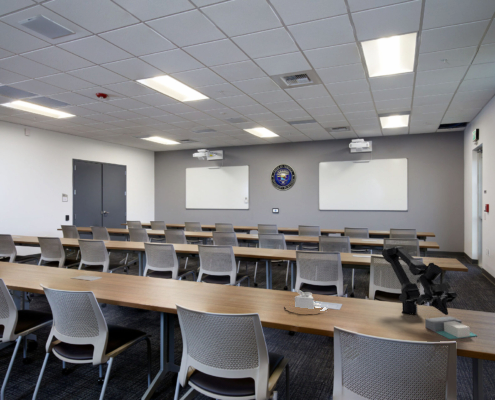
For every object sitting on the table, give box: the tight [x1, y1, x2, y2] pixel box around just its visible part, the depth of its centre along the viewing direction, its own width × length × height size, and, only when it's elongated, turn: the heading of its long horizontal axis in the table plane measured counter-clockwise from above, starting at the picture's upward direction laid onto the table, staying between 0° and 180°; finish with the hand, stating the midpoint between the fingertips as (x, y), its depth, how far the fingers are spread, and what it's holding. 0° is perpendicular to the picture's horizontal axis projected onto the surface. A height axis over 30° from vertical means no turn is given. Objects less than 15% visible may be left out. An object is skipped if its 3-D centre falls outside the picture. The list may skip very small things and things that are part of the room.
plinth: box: [424, 315, 463, 333], centre depth 160 cm, size 6×14×4 cm, turn 101°
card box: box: [444, 321, 471, 339], centre depth 152 cm, size 4×6×8 cm
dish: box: [294, 289, 329, 311], centre depth 197 cm, size 25×25×11 cm
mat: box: [435, 331, 478, 340], centre depth 152 cm, size 8×14×1 cm, turn 101°
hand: (447, 314), depth 158 cm, fingers closed
